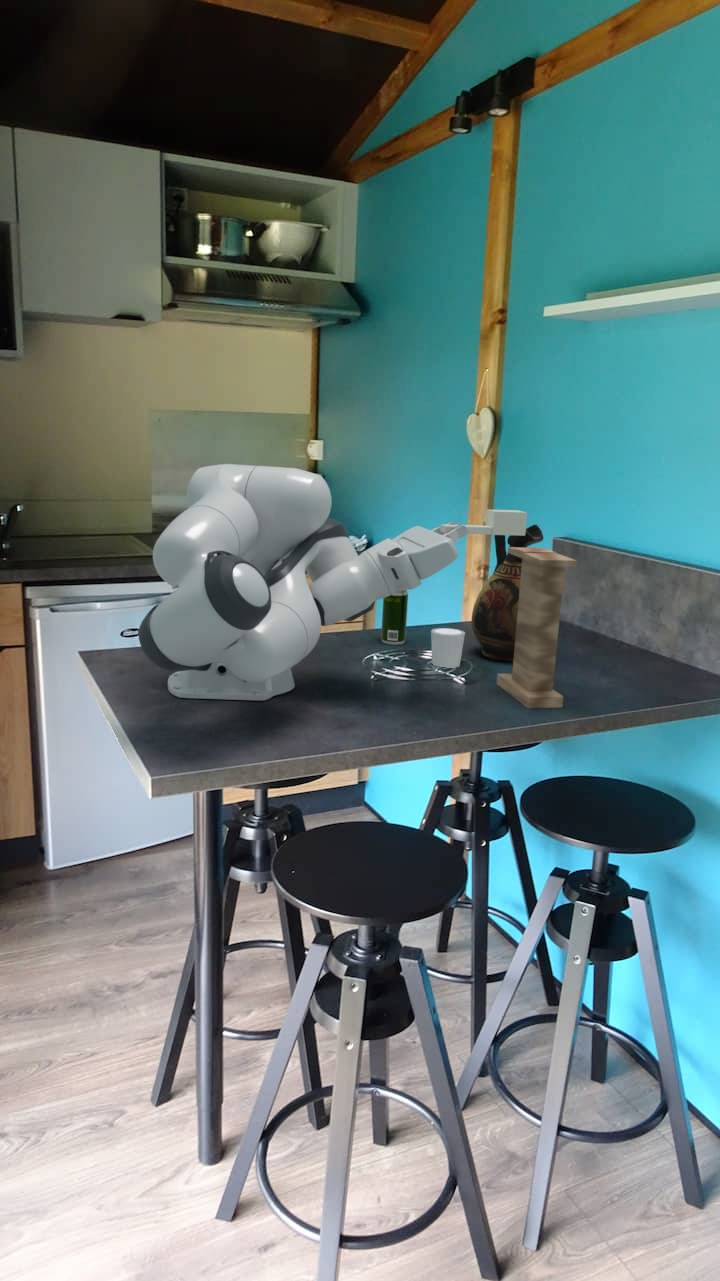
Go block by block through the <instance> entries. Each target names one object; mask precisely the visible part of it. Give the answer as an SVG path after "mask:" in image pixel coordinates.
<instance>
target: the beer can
mask: <svg viewBox="0 0 720 1281" xmlns="http://www.w3.org/2000/svg"><path fill="white" fill-rule="evenodd" d="M382 599H383V600H382V613H381V615H382V616H381V634H380V636H381V637H380V639H381V642H382V643H383V644H385V645H391V646H400V645H404V644H405V642H406V638H407V637H406V636H407V621H408V620H407V619H408V600H409V592H408V589H405V590H401V591H398V592H395V593H394V594H392V595H390V596H388V597H385V598H382Z"/></svg>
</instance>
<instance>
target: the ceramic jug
mask: <svg viewBox="0 0 720 1281" xmlns="http://www.w3.org/2000/svg"><path fill="white" fill-rule="evenodd" d="M506 540H507V542H506ZM543 540H544V534H543V532H542V530H541V528H540V527H539V525H538V524H532V525H530V526H528V527H526V532H525V536H519V535H508V537H507V539H506V535H494V545H495V557H496V565H495V568H494V570H493V573H492V574H491V575H490V576H489V578H488V579H487V581H486V582H485V584H484V585H483V587H482V588H481V590H480V591H479V594H478V595H477V598H476V600H475V602H474V604H473V608H472V613H471V629H472V632H473V634H474V636H475V638H476V639H477V642H478V643H479V645H480V646H481V647H482V648H481V653H482V656H484V657H486V658H489V659H491V660H494V661H496V662H499V661H501V662H502V661H503V662H504V661H505V662H508V663H509V662H510V663H511V662H512V663H513V660H514V649H515V638H516V626H517V615H518V603H519V592H520V581H521V569H522V558H520V557H517V556H515V555H512V554H510V553H508V551H507V548H506V545H507V544H508V547H528V546H529V547H530V546H532V545H534V544H539V543H540V542H543Z"/></svg>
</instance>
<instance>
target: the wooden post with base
mask: <svg viewBox="0 0 720 1281" xmlns="http://www.w3.org/2000/svg"><path fill="white" fill-rule="evenodd" d="M508 553H510V554H512V555H515V556H517V557H520V558H522V569H521V581H520V592H519V603H518V615H517V626H516V638H515V649H514V660H513V662H512V671H511V673H497V675H496V685H497V686H498V687H500V688H501V689H503V690H504V691H505V692H506V693H507V694H509V695H510V696H511V697H513V699H515V700H516V701H518V702H519V703H521V704H522V705H523V706H524V707H525V708H527V709H551V708H552V709H554V708H555V709H556V708H558V709H559V708H563V705H564V695H562V694H560V693H559V692H557V691H556V690H555V689H554V688H553V687H554V679H555V669H556V658H557V651H558V650H557V649H558V648H557V647H558V637H559V629H560V628H559V627H560V618H561V610H562V609H561V608H562V599H563V598H562V597H563V587H564V577H565V569H566V568H565V567H578V560H576V559H574V558H571V557H568V556H566V555H563V554H559V553H557V552H556V551H553V550H551V549H548V548H545V547H530V546H529V547H528V546H527V547H509V546H508V547H507V554H508Z"/></svg>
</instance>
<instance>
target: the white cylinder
mask: <svg viewBox="0 0 720 1281" xmlns="http://www.w3.org/2000/svg"><path fill="white" fill-rule="evenodd" d="M430 630H431V631H430V637H431V638H430V639H431V640H430V641H431V644H430V645H431V665H432V664H433V665H436V666H440V667H446V668H445V669H447V668H452V669H457V668H456V667H458V668H459V667H460V666H461V661H462V660H461V659H462V653H463V647H464V641H465V634H466V632H465V631H464V630H461V629H458V628H451V627H438V628H437V627H436V628H432V629H430ZM433 665H432V666H433Z"/></svg>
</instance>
